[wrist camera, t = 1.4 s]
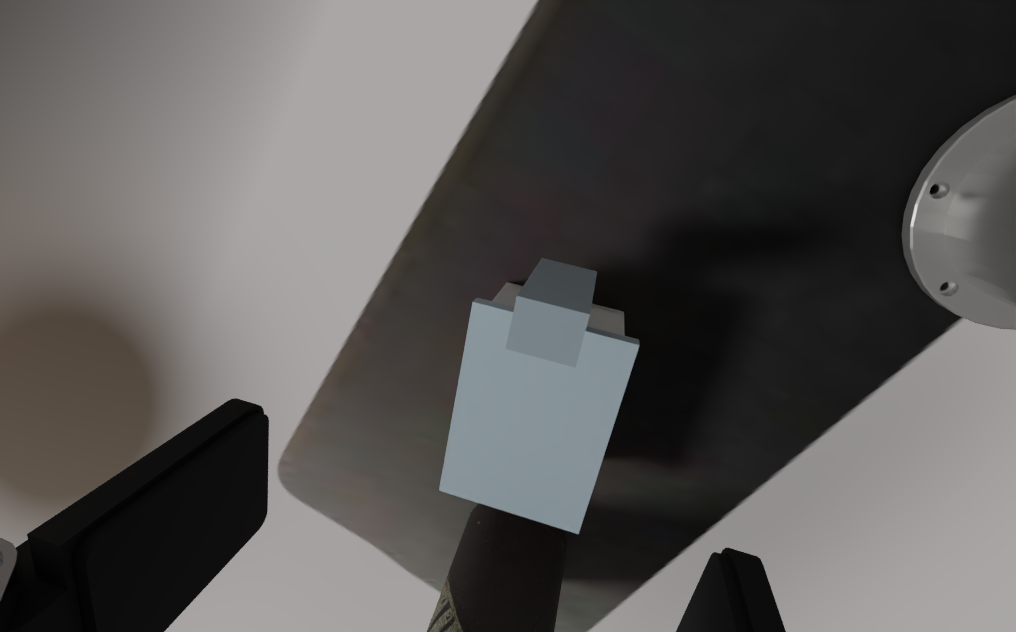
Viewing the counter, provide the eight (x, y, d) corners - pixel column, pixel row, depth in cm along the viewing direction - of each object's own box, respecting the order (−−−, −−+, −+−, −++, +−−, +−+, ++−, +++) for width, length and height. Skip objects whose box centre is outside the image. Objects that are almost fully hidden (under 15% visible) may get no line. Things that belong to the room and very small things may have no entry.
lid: (654, 280, 27) (668, 334, 19) (580, 514, 32) (569, 623, 25) (490, 240, 28) (444, 277, 20) (448, 473, 34) (399, 566, 26)
